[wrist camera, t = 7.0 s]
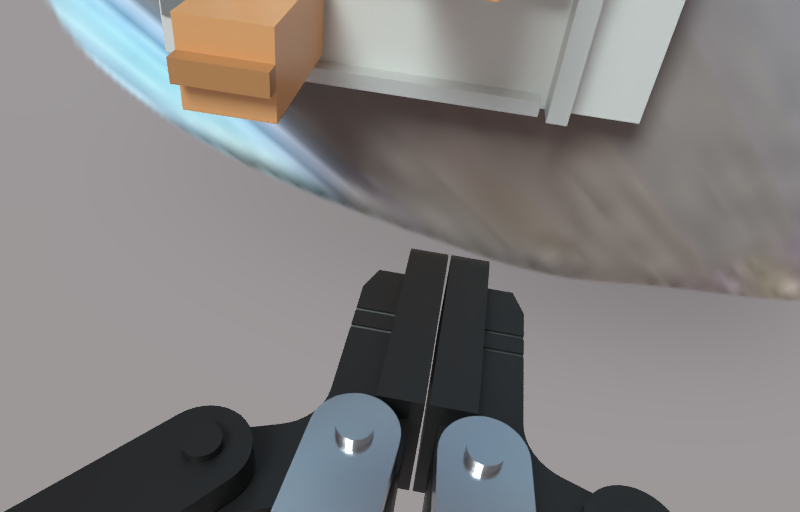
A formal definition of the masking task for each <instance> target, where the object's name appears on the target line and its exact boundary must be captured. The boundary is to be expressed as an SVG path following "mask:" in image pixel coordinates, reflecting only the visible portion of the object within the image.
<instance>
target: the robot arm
mask: <svg viewBox="0 0 800 512" xmlns="http://www.w3.org/2000/svg"><path fill="white" fill-rule="evenodd" d="M447 261H448V255H447V254H440V253H435V252H429V251H423V250H417V249H411V252H410V256H409V260H408V264H407V268H406V273H405V274H400V273H394V272H388V271H382V270H379V271H378V272H377V273H376V274H375V275H374V276H373V277H372V278H371V279H370V280H369V281H368V282H367V283H366V284H365V285H364V286H363V289H362V292H361V295H360V298H359V301H358V305H357V309H356V311H355V314H354V317H353V321H352V326H351V328H350V331H349V333H348V337H347V340H346V343H345V346H344V349H343V353H342V356H341V359H340V362H339V365H338V369H337V372H336V375H335V378H334V381H333V385H332V388H331V391H330V393H329V395H328V397H327V398H326V400H325V401H324V403H322V404H321V405H320V406H319V407H318V408H317V409H316V410H315V411H314V412H313V413H311V414H309V415H308V416H306V417H304V418H302V419H299V420H297V421H293V422H290V423H284V424H277V425H267V426H257V427H249V425H248V423H247V422H246V420H245V419H244V418H243V417H242V416H241V415H240V414H238V413H236V412H235V411H233V410H231V409H228V408H225V407H221V406H201V407H196V408H192V409H189V410H186V411H184V412H182V413H180V414H178V415H176V416H174V417H173V418H171V419H169V420H167V421H165V422H164V423H162V424H160V425H159V426H157V427H155V428H153V429H151V430H150V431H148V432H146V433H144V434H142V435H140V436H139V437H137V438H135V439H134V440H132V441H130V442H128V443H126V444H124V445H123V446H121V447H119V448H117V449H115V450H114V451H112V452H110V453H108V454H106V455H105V456H103V457H101V458H100V459H98V460H96V461H94V462H92V463H90V464H89V465H87V466H85V467H83V468H81V469H80V470H78V471H76V472H74V473H73V474H71V475H69V476H67V477H65V478H64V479H62V480H60V481H58V482H57V483H55V484H53V485H51V486H49V487H48V488H46V489H44V490H42V491H40V492H39V493H37V494H35V495H33V496H31V497H30V498H28V499H26V500H24V501H23V502H21V503H19V504H17V505H16V506H14V507H12V508H10V509H8V510H6V511H5V512H393V511H394V506H395V500H396V494H397V489H398V488H400V489H405V490H409V487H410V481H411V475H412V471H413V465H414V460H415V454H416V448H417V443H418V438H419V433H420V428H421V422H422V417H423V412H424V406H425V400H426V393H427V387H428V381H429V375H430V369H431V362H432V356H433V349H434V343H435V337H436V331H437V324H438V317H439V311H440V305H441V299H442V293H443V286H444V280H445V274H446V267H447ZM488 277H489V261H482V260H476V259H471V258H465V257H459V256H453V255H452V256H451V261H450V267H449V272H448V278H447V283H446V288H445V294H444V299H443V305H442V310H441V316H440V321H439V327H438V333H437V339H436V345H435V352H434V358H433V364H432V371H431V377H430V384H429V390H428V397H427V403H426V409H425V416H424V422H423V429H422V435H421V442H420V448H419V455H418V461H417V467H416V474H415V480H414V486H413V491H417V492H422V493H425V497H424V504H423V511H422V512H669V510H667V508H666V507H665V506H663V505H662V504H661V503H660V502H659V501H657V500H656V499H655V498H653V497H652V496H650V495H648V494H647V493H645V492H643V491H641V490H638V489H636V488H632V487H628V486H622V485H612V486H607V487H603V488H601V489H599V490H597V491H596V492H594V493H591V492H589V491H587V490H585V489H583V488H581V487H579V486H577V485H575V484H573V483H571V482H569V481H567V480H565V479H563V478H562V477H560V476H558V475H556V474H555V473H553V472H552V471H551V470H549V469H548V468H547V467H545V466H544V465H543V464H542V463H541V462H540V461H539V460H538V458H537V457H536V456H535V455H534V454H533V452H532V450H531V449H530V447H529V445H528V443H527V440H526V438H525V434H524V428H523V353H524V352H523V351H524V350H523V349H524V341H523V336H524V331H523V330H524V314H523V312H522V310H521V308H520V306H519V304H518V302H517V300H516V299H515V297H514V295H513V293H510V292H503V291H499V290H492V289H488Z"/></svg>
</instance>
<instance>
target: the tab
mask: <svg viewBox="0 0 800 512" xmlns="http://www.w3.org/2000/svg"><path fill="white" fill-rule="evenodd" d="M170 14H171V21H172V29H173V36H174V44H175V50H174V51H173V52H172V53H171V54H169V55H168V56H167V57H166V58H167V65H168V72H169V79H170V84H176V85H180V89H181V97H182V105H183V109H184V110H191V111H197V112H203V113H210V114H216V115H222V116H229V117H235V118H242V119H248V120H254V121H261V122H267V123H273V124H278V122H279V120H280V119H281V117H282V116H283V114H284V113H285V111H286V110H287V108H288V107H289V105H290V104H291V102H292V100H293V99H294V97H295V96H296V94H297V93H298V91H299V90H300V88H301V87H302V85H303V84H304V82H305V80H306V79H307V77H308V76H309V74H310V73H311V71H312V70H313V68H314V67H315V65H316V64H317V62H318V61H319V59H320V57H321V56H322V54H323V19H324V0H185V1H183V2H182V3H181V4H179V5H178V6H177V7H175V8H174V9H172V10H171V11H170Z"/></svg>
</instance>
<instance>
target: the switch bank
mask: <svg viewBox="0 0 800 512" xmlns="http://www.w3.org/2000/svg"><path fill="white" fill-rule="evenodd" d="M183 1H185V0H159V5H160V12H161V19H162V26H163V33H164V40H165V48H166V52H173V51H174V50H175V44H174V36H173V29H172V21H171V14H170V11H171V10H172V9H174V8H175V7H177V6H178V5H179V4H181V3H182V2H183ZM684 3H685V0H499V2H493V1H486V0H324V19H323V54H322V56H321V57H320V59H319V61H318V62H317V64H316V65H315V67H314V68H313V70H312V71H311V73H310V74H309V76H308V77H307V79H306V80H305V82H311V83H318V84H324V85H331V86H337V87H344V88H350V89H357V90H363V91H370V92H377V93H383V94H390V95H396V96H403V97H409V98H416V99H422V100H429V101H435V102H442V103H448V104H455V105H461V106H468V107H474V108H481V109H487V110H494V111H500V112H507V113H514V114H520V115H527V116H533V117H538V113H539V109H544V111H545V122H546V123H549V124H555V125H562V126H567V124H568V121H569V117H570V114H571V113H572V114H578V115H585V116H591V117H598V118H605V119H611V120H618V121H624V122H631V123H637V124H639V123H640V120H641V118H642V115H643V112H644V110H645V107H646V104H647V102H648V99H649V96H650V94H651V91H652V88H653V86H654V83H655V80H656V78H657V75H658V72H659V70H660V67H661V64H662V62H663V59H664V56H665V54H666V51H667V48H668V46H669V43H670V40H671V38H672V35H673V32H674V30H675V27H676V24H677V22H678V19H679V16H680V14H681V11H682V8H683V6H684Z"/></svg>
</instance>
